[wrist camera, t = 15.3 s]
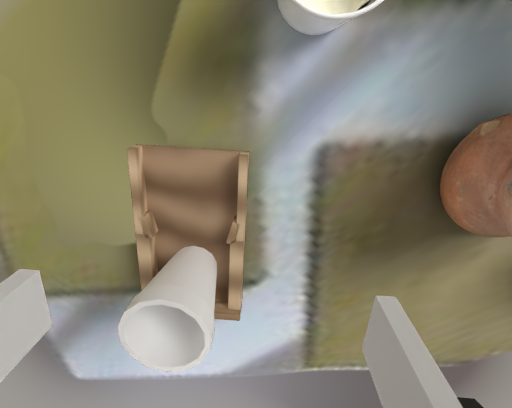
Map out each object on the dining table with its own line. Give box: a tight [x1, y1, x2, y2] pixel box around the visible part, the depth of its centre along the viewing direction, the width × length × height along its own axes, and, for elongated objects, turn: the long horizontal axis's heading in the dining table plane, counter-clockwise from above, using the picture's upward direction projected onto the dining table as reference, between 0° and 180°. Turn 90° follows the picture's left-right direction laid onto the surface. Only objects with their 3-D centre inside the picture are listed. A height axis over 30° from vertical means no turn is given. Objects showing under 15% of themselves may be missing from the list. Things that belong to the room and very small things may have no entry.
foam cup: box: [118, 246, 217, 372], centre depth 36 cm, size 10×9×13 cm
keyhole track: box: [127, 144, 249, 321], centre depth 39 cm, size 23×14×4 cm, turn 177°
